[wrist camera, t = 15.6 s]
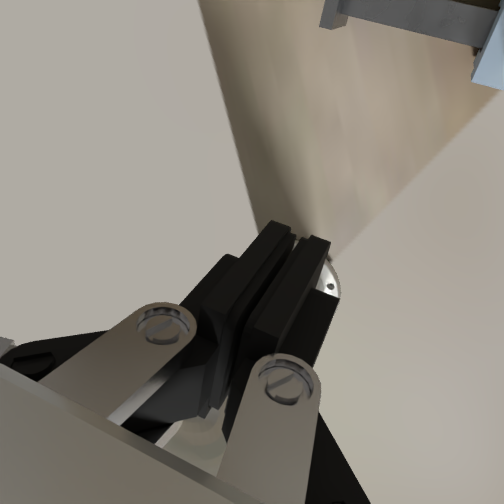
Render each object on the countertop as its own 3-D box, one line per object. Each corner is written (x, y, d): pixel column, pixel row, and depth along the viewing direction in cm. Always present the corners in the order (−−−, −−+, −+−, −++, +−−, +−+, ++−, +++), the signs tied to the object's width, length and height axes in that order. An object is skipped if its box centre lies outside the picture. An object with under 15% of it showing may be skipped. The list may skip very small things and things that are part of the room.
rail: (574, 82, 33) (588, 95, 29) (334, 22, 38) (319, 26, 34) (611, 18, 31) (632, 22, 27) (350, -39, 35) (335, -42, 31)
